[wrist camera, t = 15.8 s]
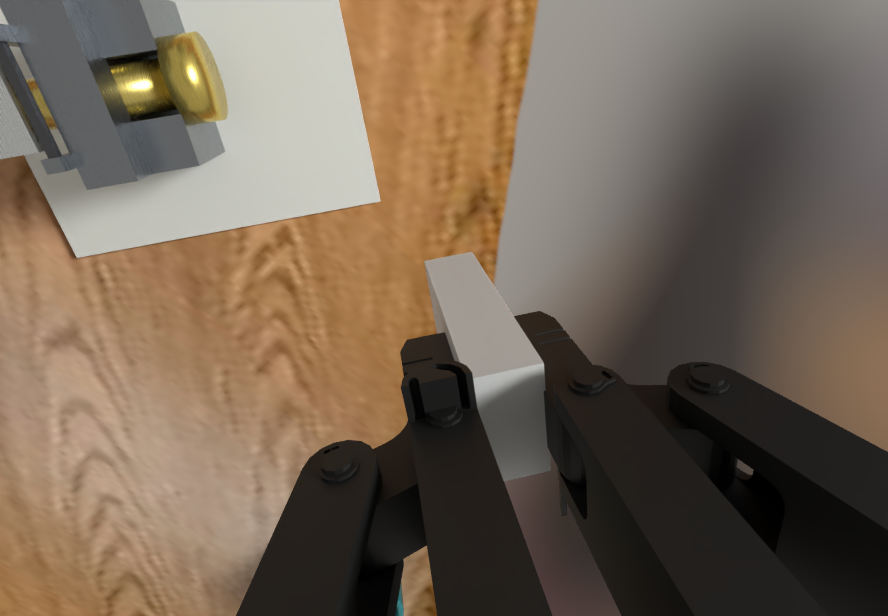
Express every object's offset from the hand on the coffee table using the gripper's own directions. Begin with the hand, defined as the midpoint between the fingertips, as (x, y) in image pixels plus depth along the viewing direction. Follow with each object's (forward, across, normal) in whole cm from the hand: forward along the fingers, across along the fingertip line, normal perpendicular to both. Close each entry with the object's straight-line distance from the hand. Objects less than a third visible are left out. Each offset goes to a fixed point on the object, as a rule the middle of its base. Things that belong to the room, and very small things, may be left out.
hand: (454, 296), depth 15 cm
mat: (+28, -14, +8) cm, 33 cm away
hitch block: (+28, -16, +8) cm, 34 cm away
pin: (+25, -17, +8) cm, 32 cm away
